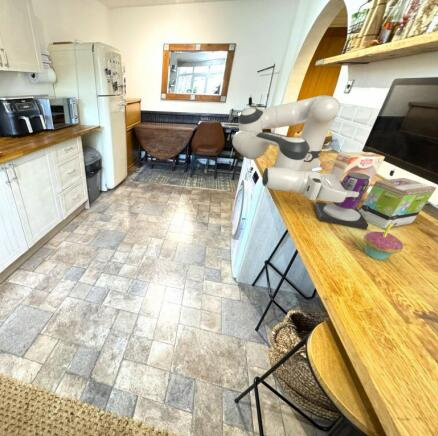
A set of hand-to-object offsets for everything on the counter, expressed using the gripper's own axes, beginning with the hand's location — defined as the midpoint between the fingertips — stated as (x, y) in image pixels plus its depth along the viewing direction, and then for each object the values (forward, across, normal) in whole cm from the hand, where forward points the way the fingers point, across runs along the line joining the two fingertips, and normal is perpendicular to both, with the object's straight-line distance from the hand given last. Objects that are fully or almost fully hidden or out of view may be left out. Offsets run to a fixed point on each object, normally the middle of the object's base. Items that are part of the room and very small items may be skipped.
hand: (354, 190), depth 84 cm
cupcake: (+4, +22, -12) cm, 25 cm away
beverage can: (-1, 0, -7) cm, 7 cm away
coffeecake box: (+4, -22, -12) cm, 26 cm away
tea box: (+15, -6, -12) cm, 20 cm away
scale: (-1, -1, -12) cm, 12 cm away
